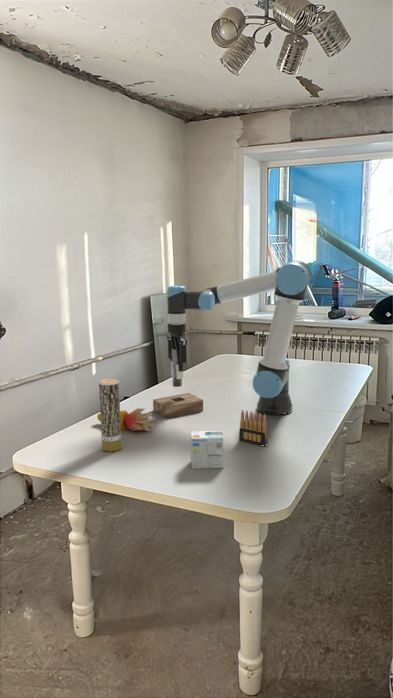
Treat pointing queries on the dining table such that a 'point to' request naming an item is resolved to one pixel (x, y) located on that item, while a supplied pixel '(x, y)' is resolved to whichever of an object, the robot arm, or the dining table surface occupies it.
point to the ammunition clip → (253, 429)
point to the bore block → (177, 405)
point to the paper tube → (110, 414)
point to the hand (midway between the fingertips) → (177, 377)
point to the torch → (134, 420)
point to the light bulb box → (207, 449)
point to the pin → (174, 372)
